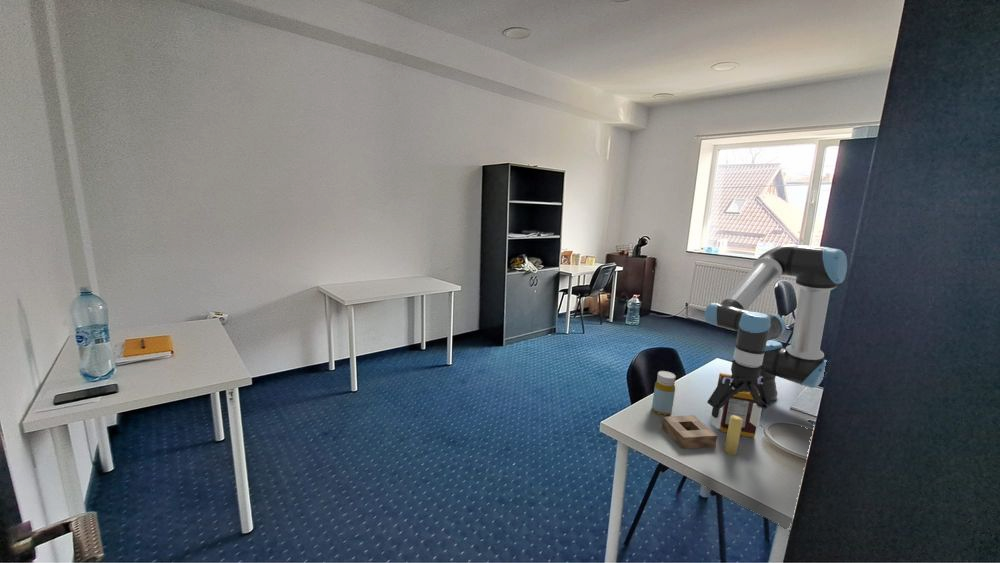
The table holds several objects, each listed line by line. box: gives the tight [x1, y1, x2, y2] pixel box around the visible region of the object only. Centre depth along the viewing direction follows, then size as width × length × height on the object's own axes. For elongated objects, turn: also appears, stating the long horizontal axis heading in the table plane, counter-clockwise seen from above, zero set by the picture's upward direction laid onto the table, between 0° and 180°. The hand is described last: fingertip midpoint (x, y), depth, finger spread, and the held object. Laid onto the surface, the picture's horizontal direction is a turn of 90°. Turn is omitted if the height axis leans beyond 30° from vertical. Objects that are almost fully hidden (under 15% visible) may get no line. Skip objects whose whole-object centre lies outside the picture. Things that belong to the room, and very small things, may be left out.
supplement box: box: [716, 372, 760, 438], centre depth 139 cm, size 10×15×16 cm
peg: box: [724, 415, 743, 456], centre depth 123 cm, size 3×3×12 cm
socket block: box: [661, 414, 718, 449], centre depth 131 cm, size 12×12×4 cm
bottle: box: [651, 370, 677, 416], centre depth 145 cm, size 7×7×15 cm
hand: (734, 425), depth 122 cm, fingers open, 13 cm apart
